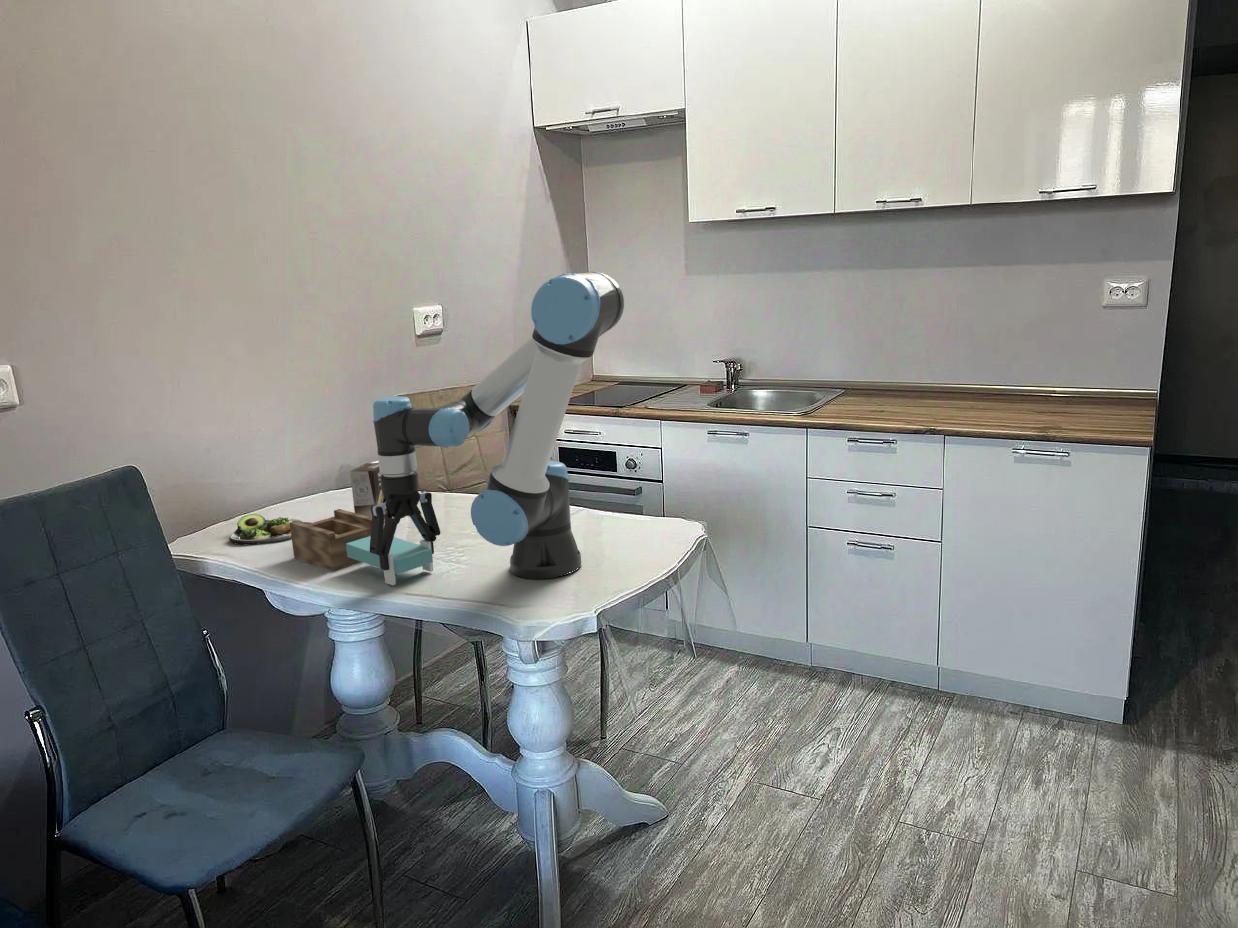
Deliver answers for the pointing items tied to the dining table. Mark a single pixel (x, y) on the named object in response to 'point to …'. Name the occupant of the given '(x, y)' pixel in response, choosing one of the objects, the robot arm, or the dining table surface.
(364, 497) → the coffee box
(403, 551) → the lid
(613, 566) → the dining table surface
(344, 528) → the walnut box
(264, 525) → the salad plate
